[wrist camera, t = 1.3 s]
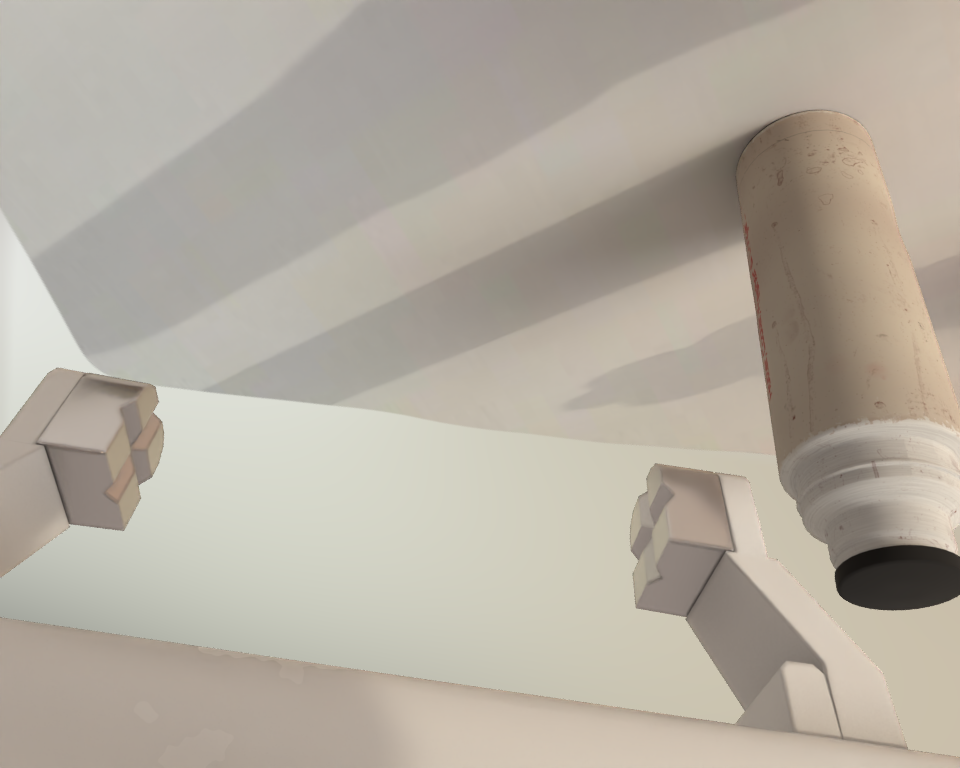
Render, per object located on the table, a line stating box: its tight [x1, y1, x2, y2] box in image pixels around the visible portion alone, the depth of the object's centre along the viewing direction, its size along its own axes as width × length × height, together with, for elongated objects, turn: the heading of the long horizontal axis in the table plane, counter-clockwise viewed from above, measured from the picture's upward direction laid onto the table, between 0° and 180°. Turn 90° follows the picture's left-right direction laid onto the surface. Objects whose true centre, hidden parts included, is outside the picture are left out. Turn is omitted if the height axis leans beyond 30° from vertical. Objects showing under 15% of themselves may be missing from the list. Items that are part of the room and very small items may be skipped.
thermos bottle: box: [736, 110, 960, 610], centre depth 41 cm, size 8×8×28 cm
